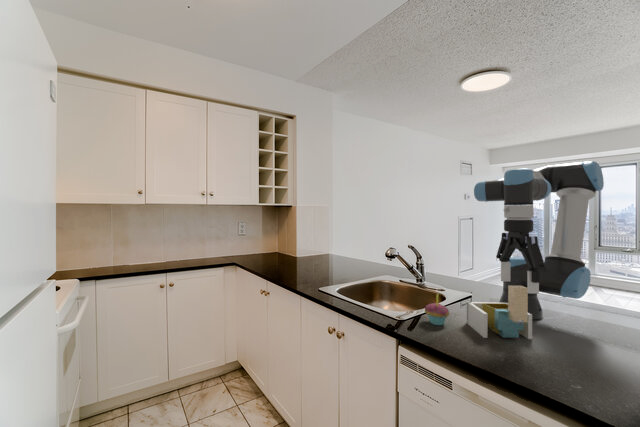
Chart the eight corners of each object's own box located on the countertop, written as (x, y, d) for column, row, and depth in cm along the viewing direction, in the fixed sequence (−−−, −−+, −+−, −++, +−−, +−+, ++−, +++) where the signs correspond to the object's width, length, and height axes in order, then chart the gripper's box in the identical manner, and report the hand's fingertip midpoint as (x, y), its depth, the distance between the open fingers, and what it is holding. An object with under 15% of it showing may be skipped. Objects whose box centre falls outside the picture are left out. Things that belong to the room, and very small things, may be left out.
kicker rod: (519, 335, 95) (520, 282, 94) (534, 345, 88) (534, 288, 87) (494, 334, 95) (494, 282, 95) (506, 344, 88) (507, 287, 88)
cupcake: (451, 328, 103) (451, 295, 102) (426, 326, 104) (426, 293, 104) (445, 319, 111) (446, 288, 111) (422, 317, 113) (423, 287, 113)
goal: (509, 324, 106) (509, 302, 106) (531, 339, 94) (532, 314, 94) (466, 323, 107) (466, 301, 107) (483, 337, 95) (483, 313, 95)
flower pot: (482, 328, 103) (481, 302, 104) (507, 328, 103) (505, 303, 103) (495, 336, 94) (494, 308, 95) (523, 337, 94) (521, 309, 95)
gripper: (485, 217, 102) (485, 277, 102) (533, 220, 77) (532, 299, 77) (507, 217, 101) (507, 277, 102) (562, 220, 76) (562, 299, 77)
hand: (518, 286), depth 90 cm, fingers open, 13 cm apart
